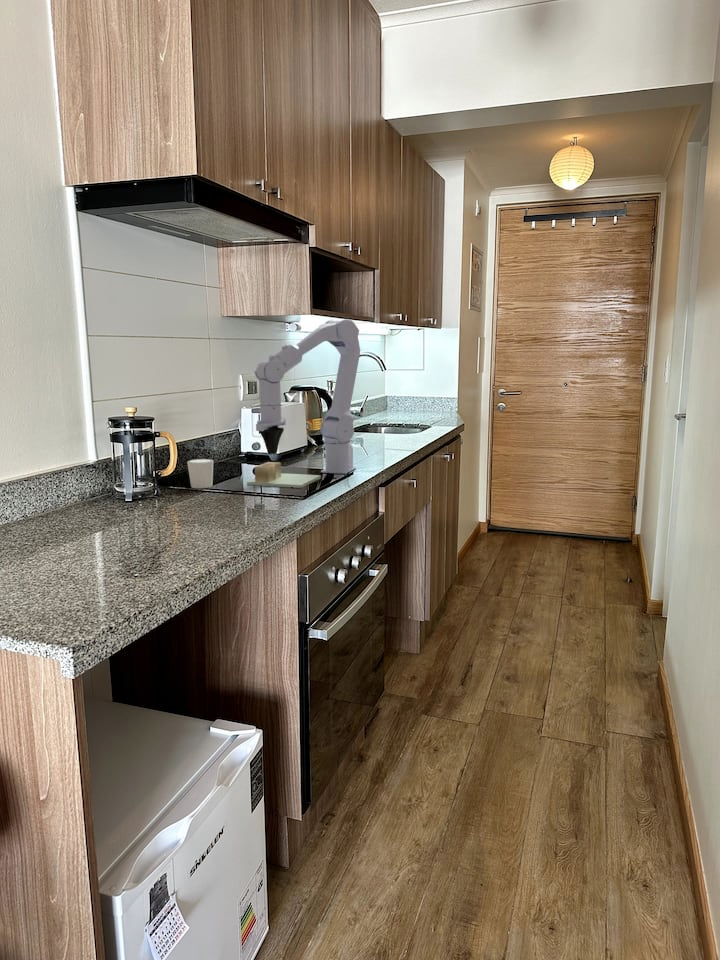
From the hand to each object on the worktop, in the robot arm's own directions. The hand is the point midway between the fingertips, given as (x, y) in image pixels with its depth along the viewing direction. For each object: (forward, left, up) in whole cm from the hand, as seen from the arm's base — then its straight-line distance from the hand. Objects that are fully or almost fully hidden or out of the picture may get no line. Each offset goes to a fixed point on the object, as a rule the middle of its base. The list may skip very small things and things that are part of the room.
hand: (272, 453), depth 188 cm
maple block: (-1, 0, -5) cm, 5 cm away
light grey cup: (+13, -15, -8) cm, 21 cm away
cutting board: (+1, +4, -7) cm, 8 cm away
